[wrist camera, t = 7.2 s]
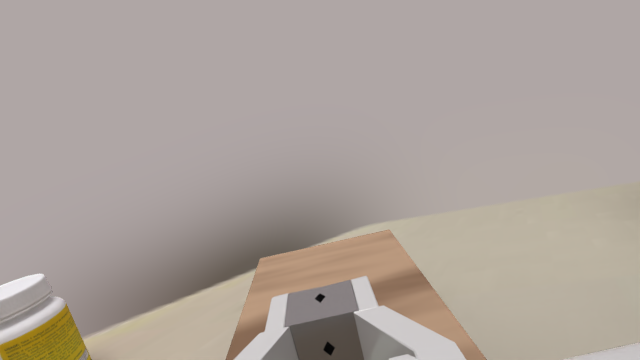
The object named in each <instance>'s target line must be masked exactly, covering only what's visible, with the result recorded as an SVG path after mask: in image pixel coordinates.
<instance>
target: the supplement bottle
mask: <svg viewBox="0 0 640 360" xmlns="http://www.w3.org/2000/svg"><path fill="white" fill-rule="evenodd" d="M51 289H52V287H51V286H50V284H49V282H48V281H47V279H46V277H45V275H43V274H35V275H30V276H26V277H23V278H20V279H17V280H14V281H11V282H8V283H6V284H3V285H1V286H0V360H92V359H91V357H90V355H89V353H88V351H87V349H86V346H85V344H84V342H83V340H82V338H81V335H80V333H79V331H78V329H77V327H76V324H75V323H74V320H73V318H72V315H71V313H70V311H69V309H68V306H67V304H66V303H65V301H64V300H63V299H62V298H60V297H55V296H51V294H52V292H53V291H52V290H51ZM50 296H51V297H50Z"/></svg>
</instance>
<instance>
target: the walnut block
mask: <svg viewBox="0 0 640 360" xmlns="http://www.w3.org/2000/svg"><path fill="white" fill-rule="evenodd" d="M362 276H367V277H368V280H369V282H370V285H371V287H372V290H373V293H374V295H375V298H376V300H377V303H378V306H386V307H388V308H389V309H391V310H393V311H395V312H397V313H399V314H401V315H403V316H405V317H407V318H409V319H411V320H413V321H414V322H416V323H418V324H420V325H422V326H424V327H426V328H428V329H430V330H432V331H434V332H436V333H438V334H439V335H441V336H443V337H445V338H447V339H449V340H451V341H453V342H455V343H456V345H457V346H458V348H459V349H460V351H461V352H462V354H463V355H464V357H465V359H466V360H487V359H486V358H485V357H484V355H483V354H482V353H481V351H480V350H479V349H478V347H477V346H476V345H475V343H474V342H473V341H472V339H471V338H470V337H469V335H468V334H467V333H466V331H465V330H464V329H463V327H462V326H461V325H460V323H459V322H458V321H457V319H456V318H455V317H454V315H453V314H452V313H451V311H450V310H449V309H448V307H447V306H446V305H445V303H444V302H443V301H442V299H441V298H440V297H439V295H438V294H437V293H436V291H435V290H434V289H433V287H432V286H431V285H430V283H429V282H428V281H427V279H426V278H425V277H424V275H423V274H422V273H421V271H420V270H419V269H418V267H417V266H416V265H415V263H414V262H413V261H412V259H411V258H410V257H409V255H408V254H407V253H406V251H405V250H404V249H403V247H402V246H401V245H400V243H399V242H398V241H397V239H396V238H395V237H394V235H393V234H392V233H391V231H390V230H385V231H381V232H376V233H372V234H367V235H363V236H358V237H354V238H350V239H345V240H341V241H336V242H332V243H327V244H323V245H318V246H314V247H309V248H305V249H300V250H296V251H292V252H287V253H283V254H278V255H274V256H269V257H265V258H261V259H260V261H259V264H258V267H257V269H256V272H255V275H254V278H253V281H252V284H251V287H250V290H249V293H248V296H247V299H246V302H245V304H244V307H243V310H242V313H241V316H240V319H239V322H238V325H237V328H236V331H235V334H234V337H233V339H232V342H231V345H230V348H229V351H228V354H227V357H226V360H234V359H235V358H236V357H237V356H238V355H239V354H240V353H241V352H242V350H243V349H244V348H245V347H246V346H247V345H248V344H249V343H250V342H251V341H252V340H253V339H254V338H255V337H256V336H257V335H258V334H259V333H262V332H265V327H266V322H267V318H268V313H269V308H270V303H271V299H272V298H273V297H274V296H278V295H282V294H287V293H288V294H289V293H292V292H297V291H302V290H307V289H312V288H317V287H323V286H327V285H331V284H335V283H339V282H343V281H347V280H351V279H355V278H359V277H362Z"/></svg>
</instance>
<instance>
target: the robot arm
mask: <svg viewBox="0 0 640 360" xmlns="http://www.w3.org/2000/svg"><path fill="white" fill-rule="evenodd" d="M234 360H466V359H465V357H464V355H463V354H462V352H461V351H460V349H459V348H458V346H457V345H456V343H455V342H453V341H451V340H449V339H447V338H445V337H443V336H441V335H439V334H438V333H436V332H434V331H432V330H430V329H428V328H426V327H424V326H422V325H420V324H418V323H416V322H414V321H413V320H411V319H409V318H407V317H405V316H403V315H401V314H399V313H397V312H395V311H393V310H391V309H389V308H388V307H386V306H378V303H377V300H376V298H375V295H374V293H373V290H372V287H371V285H370V282H369V280H368V277H367V276H362V277H359V278H355V279H351V280H347V281H343V282H339V283H335V284H331V285H327V286H323V287H317V288H312V289H307V290H302V291H297V292H292V293H289V294H288V293H287V294H282V295H278V296H274V297H273V298H272V299H271V303H270V308H269V313H268V318H267V322H266V327H265V332H262V333H259V334H258V335H257V336H256V337H255V338H254V339H253V340H252V341H251V342H250V343H249V344H248V345H247V346H246V347H245V348H244V349H243V350H242V352H241V353H240V354H239V355H238V356H237V357H236V358H235V359H234ZM562 360H640V342H638V343H634V344H629V345H625V346H620V347H616V348H611V349H607V350H602V351H598V352H593V353H589V354H584V355H580V356H575V357H571V358H566V359H562Z"/></svg>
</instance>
